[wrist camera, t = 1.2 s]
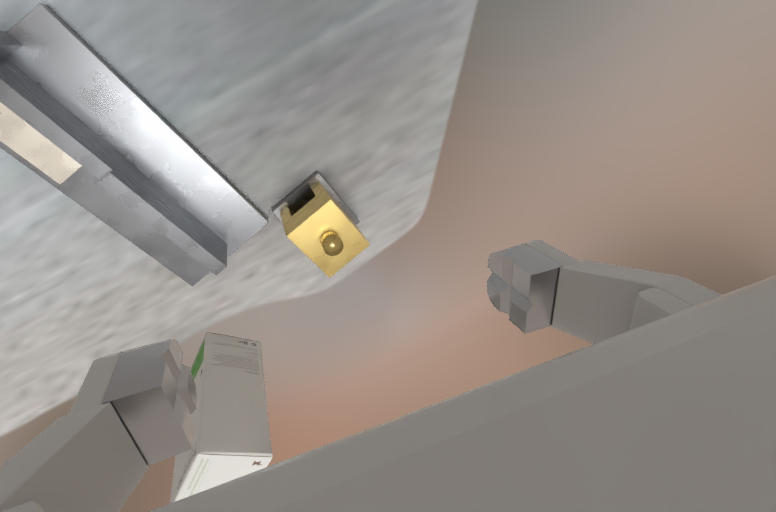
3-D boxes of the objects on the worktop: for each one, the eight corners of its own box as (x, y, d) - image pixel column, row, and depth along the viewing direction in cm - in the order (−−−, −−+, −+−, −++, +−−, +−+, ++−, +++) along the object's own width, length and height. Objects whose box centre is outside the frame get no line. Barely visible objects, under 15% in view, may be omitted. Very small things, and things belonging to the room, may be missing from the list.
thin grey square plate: (316, 170, 39) (318, 173, 38) (357, 218, 43) (359, 221, 42) (271, 208, 39) (272, 212, 39) (316, 252, 43) (317, 256, 42)
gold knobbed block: (318, 180, 39) (334, 204, 32) (353, 221, 42) (374, 250, 36) (279, 212, 39) (288, 242, 33) (318, 250, 42) (332, 285, 36)
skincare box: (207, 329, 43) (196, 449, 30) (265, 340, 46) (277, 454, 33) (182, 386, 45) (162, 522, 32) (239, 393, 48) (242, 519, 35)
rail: (47, 5, 28) (-13, -10, 21) (267, 218, 40) (274, 252, 33) (-58, 96, 28) (-149, 109, 21) (193, 280, 40) (185, 326, 33)
